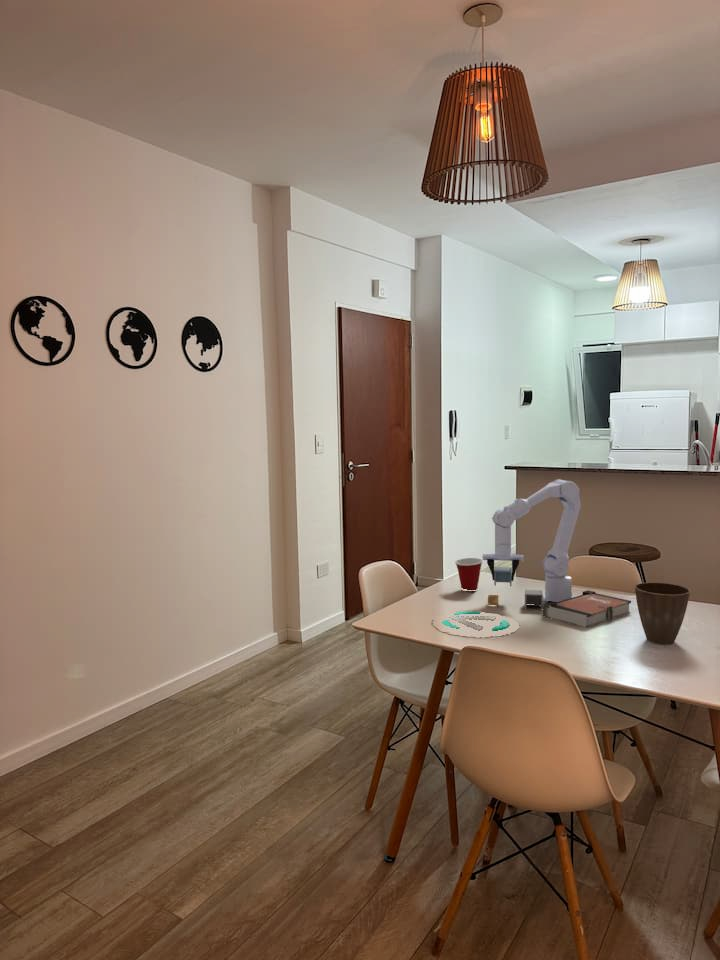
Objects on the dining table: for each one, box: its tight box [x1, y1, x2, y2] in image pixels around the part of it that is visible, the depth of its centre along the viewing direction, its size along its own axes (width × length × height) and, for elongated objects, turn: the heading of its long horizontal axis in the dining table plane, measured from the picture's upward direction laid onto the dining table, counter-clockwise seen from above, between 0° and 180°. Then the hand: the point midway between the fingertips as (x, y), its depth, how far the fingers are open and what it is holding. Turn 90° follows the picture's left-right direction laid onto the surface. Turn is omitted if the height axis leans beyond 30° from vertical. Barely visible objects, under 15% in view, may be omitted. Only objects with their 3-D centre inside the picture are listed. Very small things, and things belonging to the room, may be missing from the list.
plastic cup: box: [454, 557, 484, 590], centre depth 263 cm, size 11×11×12 cm
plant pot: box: [634, 582, 691, 646], centre depth 201 cm, size 15×15×16 cm
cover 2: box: [524, 589, 544, 610], centre depth 239 cm, size 6×6×6 cm
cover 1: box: [493, 566, 513, 587], centre depth 245 cm, size 6×6×6 cm
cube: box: [487, 594, 499, 607], centre depth 242 cm, size 4×4×4 cm
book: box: [542, 589, 632, 629], centre depth 229 cm, size 26×18×5 cm
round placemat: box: [442, 610, 510, 631], centre depth 221 cm, size 28×28×2 cm
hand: (503, 580), depth 245 cm, fingers closed on cover 1, 6 cm apart
